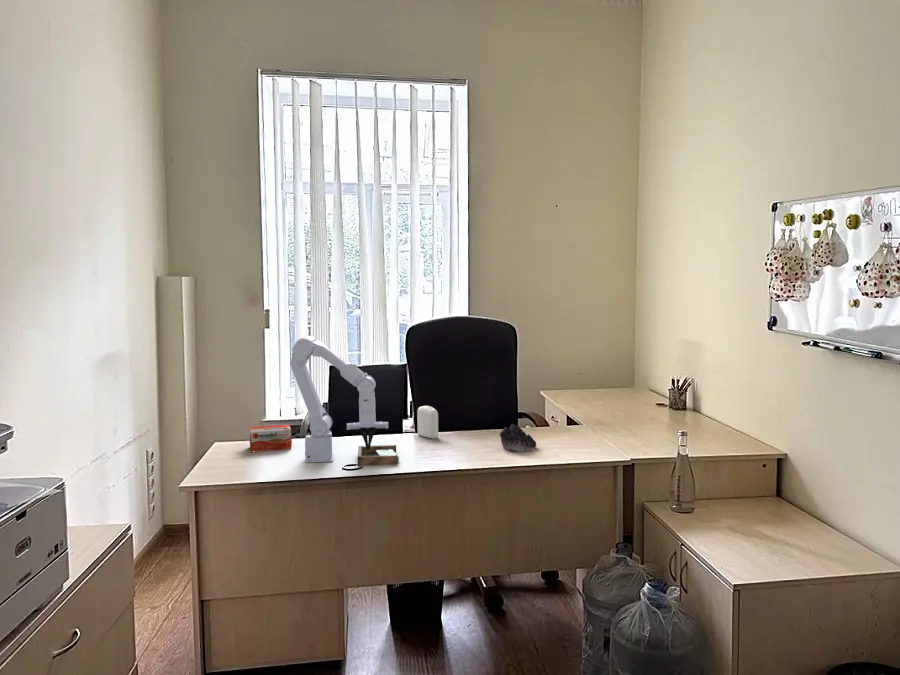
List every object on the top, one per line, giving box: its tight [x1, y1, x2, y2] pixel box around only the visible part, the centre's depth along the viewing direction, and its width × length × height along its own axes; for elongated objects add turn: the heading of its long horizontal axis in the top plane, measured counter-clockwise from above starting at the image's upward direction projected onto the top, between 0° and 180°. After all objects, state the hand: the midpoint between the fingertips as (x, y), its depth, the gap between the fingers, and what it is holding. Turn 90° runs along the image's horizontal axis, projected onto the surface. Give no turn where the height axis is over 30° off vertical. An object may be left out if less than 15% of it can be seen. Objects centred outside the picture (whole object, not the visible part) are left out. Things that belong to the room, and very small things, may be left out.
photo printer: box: [416, 405, 439, 439], centre depth 282 cm, size 10×4×12 cm, turn 39°
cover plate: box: [374, 449, 400, 463], centre depth 249 cm, size 6×11×2 cm, turn 18°
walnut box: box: [357, 444, 399, 467], centre depth 248 cm, size 14×15×3 cm
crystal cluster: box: [499, 424, 537, 453], centre depth 263 cm, size 13×14×10 cm
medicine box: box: [249, 424, 293, 453], centre depth 264 cm, size 15×8×8 cm, turn 108°
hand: (368, 448), depth 248 cm, fingers closed
